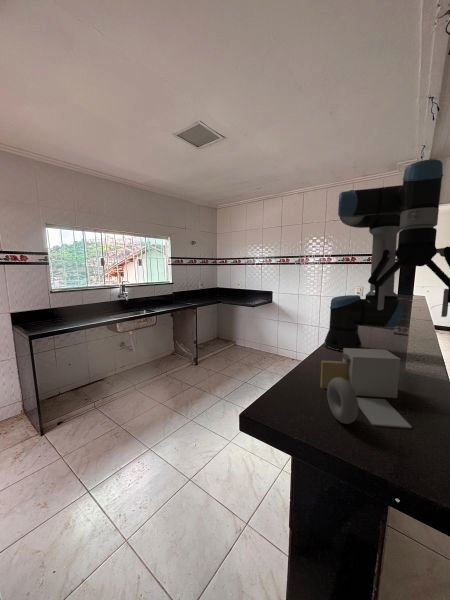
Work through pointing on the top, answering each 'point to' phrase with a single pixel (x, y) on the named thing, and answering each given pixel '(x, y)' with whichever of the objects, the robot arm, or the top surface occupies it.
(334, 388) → the donut
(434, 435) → the top surface
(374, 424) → the mat
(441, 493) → the top surface
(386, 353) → the large beige block
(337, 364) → the yellow rectangular slab
